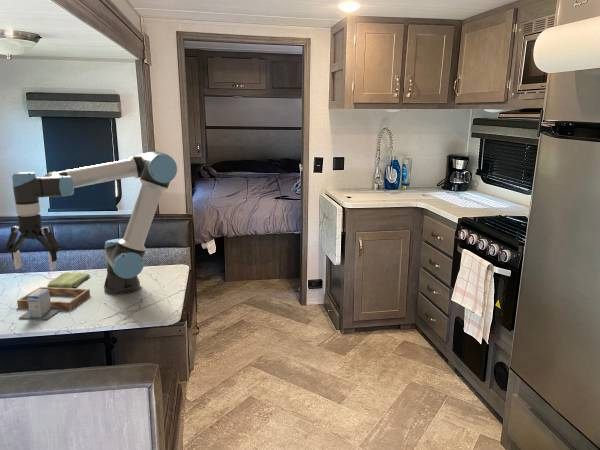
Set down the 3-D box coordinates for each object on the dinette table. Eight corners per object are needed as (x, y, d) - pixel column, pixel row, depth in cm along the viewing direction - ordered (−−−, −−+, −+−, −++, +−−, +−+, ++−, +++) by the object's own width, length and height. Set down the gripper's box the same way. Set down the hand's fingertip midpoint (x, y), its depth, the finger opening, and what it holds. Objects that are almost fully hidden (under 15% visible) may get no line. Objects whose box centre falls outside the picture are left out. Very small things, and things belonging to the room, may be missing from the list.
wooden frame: (90, 295, 193) (89, 289, 192) (70, 309, 178) (70, 302, 178) (41, 293, 194) (40, 287, 194) (17, 307, 180) (17, 300, 179)
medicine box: (40, 309, 177) (37, 288, 175) (51, 309, 177) (49, 288, 176) (29, 317, 170) (26, 296, 168) (41, 317, 170) (38, 296, 168)
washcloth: (91, 277, 217) (91, 270, 216) (74, 290, 199) (73, 283, 199) (64, 276, 217) (64, 270, 216) (44, 290, 199) (43, 283, 199)
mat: (60, 310, 178) (60, 309, 178) (47, 320, 169) (46, 318, 169) (34, 309, 178) (34, 307, 178) (19, 319, 170) (19, 317, 169)
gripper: (67, 213, 168) (73, 266, 173) (3, 211, 169) (11, 264, 174) (55, 217, 160) (61, 273, 165) (-11, 215, 162) (-3, 270, 167)
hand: (35, 268), depth 170 cm, fingers open, 13 cm apart
